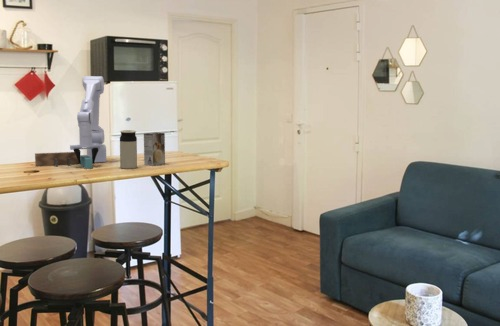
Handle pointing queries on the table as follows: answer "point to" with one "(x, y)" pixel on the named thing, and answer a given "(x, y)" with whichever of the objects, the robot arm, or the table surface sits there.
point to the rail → (86, 162)
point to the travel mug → (128, 149)
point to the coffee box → (154, 149)
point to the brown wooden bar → (55, 159)
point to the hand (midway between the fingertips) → (86, 163)
